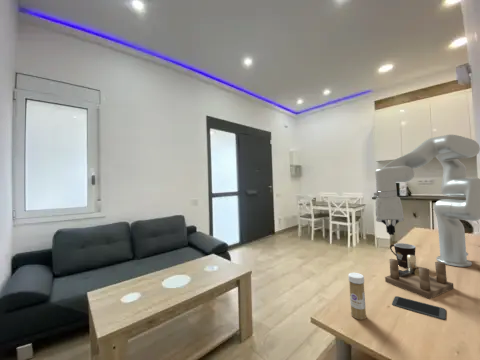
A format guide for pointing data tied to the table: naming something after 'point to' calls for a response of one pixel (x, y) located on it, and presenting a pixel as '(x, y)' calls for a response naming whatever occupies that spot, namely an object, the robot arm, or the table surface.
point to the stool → (420, 280)
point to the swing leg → (409, 266)
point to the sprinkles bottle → (357, 295)
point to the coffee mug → (403, 253)
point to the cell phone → (420, 307)
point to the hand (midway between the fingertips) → (391, 234)
